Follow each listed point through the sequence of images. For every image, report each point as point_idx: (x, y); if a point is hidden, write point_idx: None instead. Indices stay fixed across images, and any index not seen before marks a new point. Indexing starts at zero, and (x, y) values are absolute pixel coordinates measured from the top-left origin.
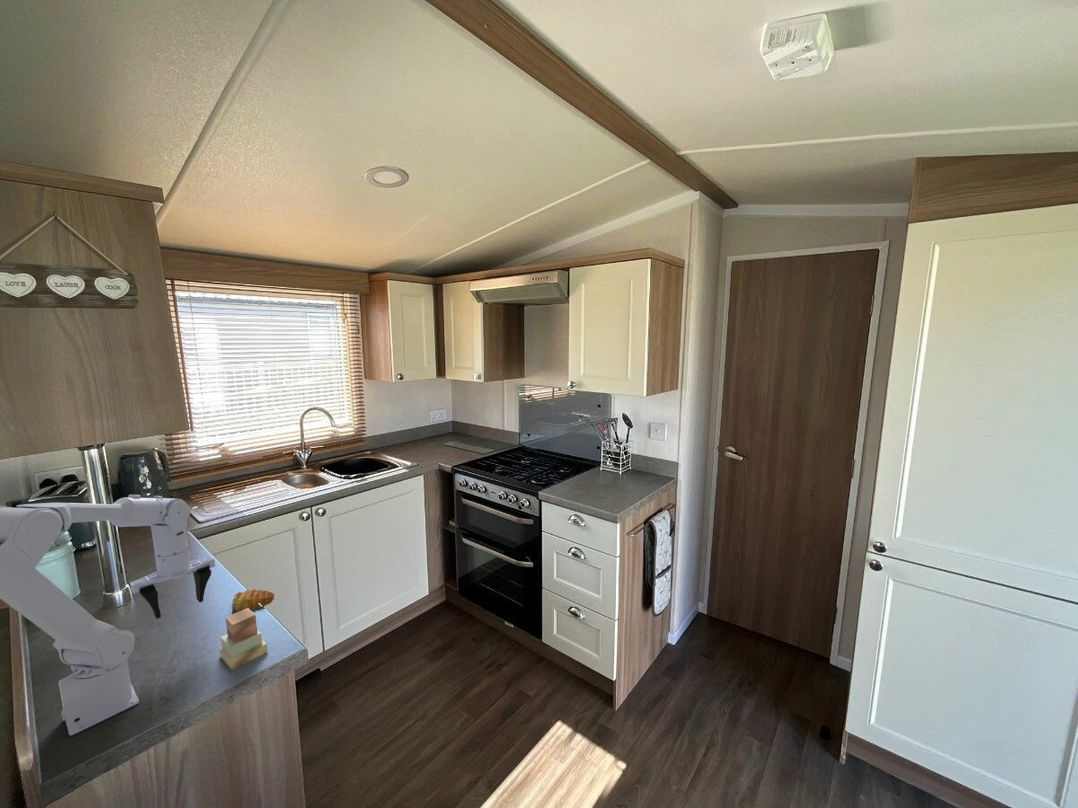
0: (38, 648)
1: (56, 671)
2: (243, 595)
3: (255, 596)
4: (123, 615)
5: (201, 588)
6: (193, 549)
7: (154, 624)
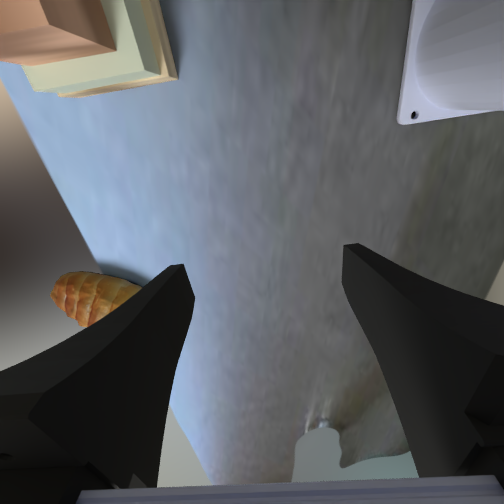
0: None
1: None
2: None
3: (87, 302)
4: (327, 397)
5: (133, 308)
6: None
7: (295, 346)
